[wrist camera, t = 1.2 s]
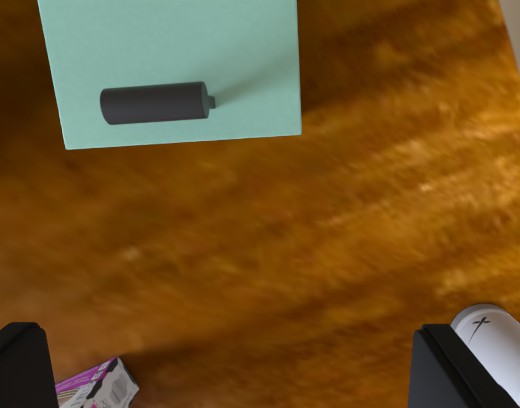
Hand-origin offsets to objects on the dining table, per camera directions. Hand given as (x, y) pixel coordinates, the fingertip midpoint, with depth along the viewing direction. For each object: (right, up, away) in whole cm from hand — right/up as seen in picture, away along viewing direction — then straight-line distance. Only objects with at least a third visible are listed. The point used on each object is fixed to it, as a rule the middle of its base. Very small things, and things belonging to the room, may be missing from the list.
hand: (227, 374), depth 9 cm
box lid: (-5, +16, +12) cm, 21 cm away
